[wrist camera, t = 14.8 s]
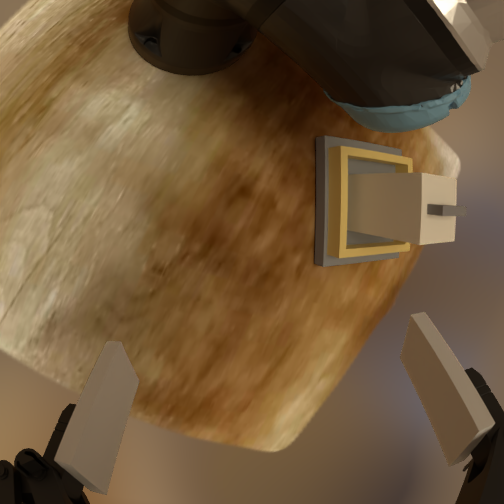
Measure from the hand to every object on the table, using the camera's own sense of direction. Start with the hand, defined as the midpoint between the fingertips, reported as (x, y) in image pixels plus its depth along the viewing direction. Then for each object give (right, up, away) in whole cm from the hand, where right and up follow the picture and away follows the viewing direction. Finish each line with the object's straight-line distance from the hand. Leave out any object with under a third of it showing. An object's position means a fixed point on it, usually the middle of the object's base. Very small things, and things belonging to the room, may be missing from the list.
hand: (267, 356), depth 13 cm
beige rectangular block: (+14, +11, +26) cm, 31 cm away
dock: (+14, +11, +27) cm, 33 cm away
